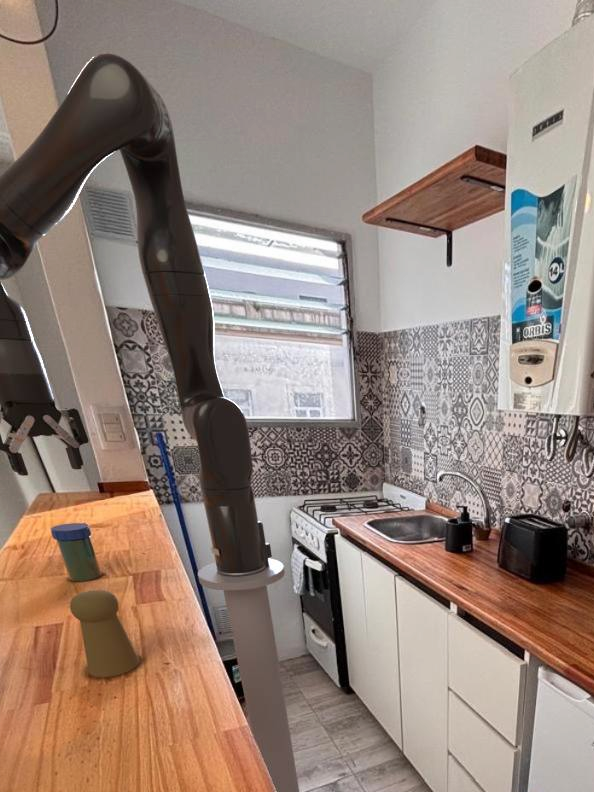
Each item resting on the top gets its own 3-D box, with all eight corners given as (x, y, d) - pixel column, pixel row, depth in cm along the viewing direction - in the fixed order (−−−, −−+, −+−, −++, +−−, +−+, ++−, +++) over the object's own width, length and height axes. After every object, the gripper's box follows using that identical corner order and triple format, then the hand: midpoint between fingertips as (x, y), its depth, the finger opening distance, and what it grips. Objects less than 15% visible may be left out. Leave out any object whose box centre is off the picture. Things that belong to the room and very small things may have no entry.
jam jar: (92, 570, 106) (77, 524, 101) (107, 575, 103) (92, 528, 99) (64, 578, 101) (47, 529, 97) (78, 583, 99) (62, 534, 95)
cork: (149, 659, 75) (129, 588, 70) (114, 680, 69) (89, 604, 64) (114, 653, 76) (92, 583, 71) (77, 673, 70) (50, 599, 65)
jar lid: (81, 530, 102) (78, 521, 101) (97, 535, 100) (94, 526, 99) (47, 537, 98) (44, 527, 97) (64, 542, 95) (60, 532, 94)
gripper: (53, 371, 93) (82, 465, 100) (-48, 369, 82) (-8, 475, 89) (76, 372, 90) (104, 469, 97) (-26, 370, 79) (14, 480, 86)
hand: (51, 472), depth 93 cm, fingers open, 8 cm apart
